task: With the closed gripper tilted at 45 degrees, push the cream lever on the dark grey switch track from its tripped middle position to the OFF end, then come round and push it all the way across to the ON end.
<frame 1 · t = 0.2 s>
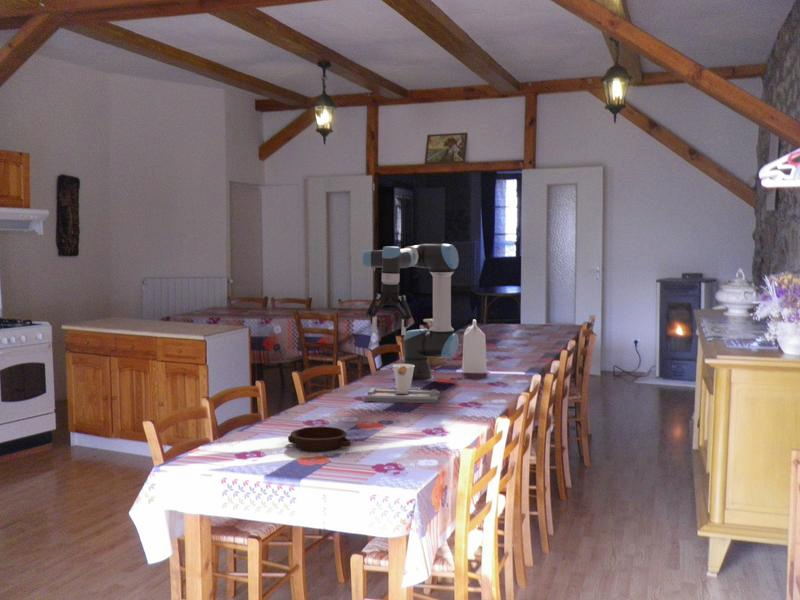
hand: (388, 333, 333), 27 cm above the table, tool pointing down, fingers open, 13 cm apart
candle holder: (432, 363, 424), on the table
switch panel: (402, 398, 332), on the table
milk: (474, 371, 401), on the table
dish: (318, 448, 257), on the table
cup: (403, 390, 351), on the table
lever: (402, 380, 332), point 8 cm above the table, slide at 0.0 cm
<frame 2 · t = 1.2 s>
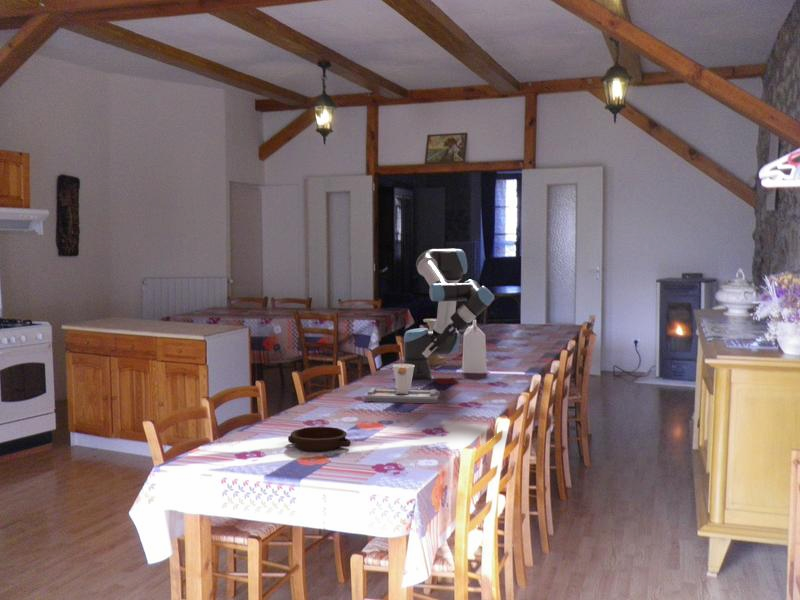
hand: (425, 353, 329), 20 cm above the table, tool tilted 45°, fingers open, 12 cm apart
nothing on the table moved.
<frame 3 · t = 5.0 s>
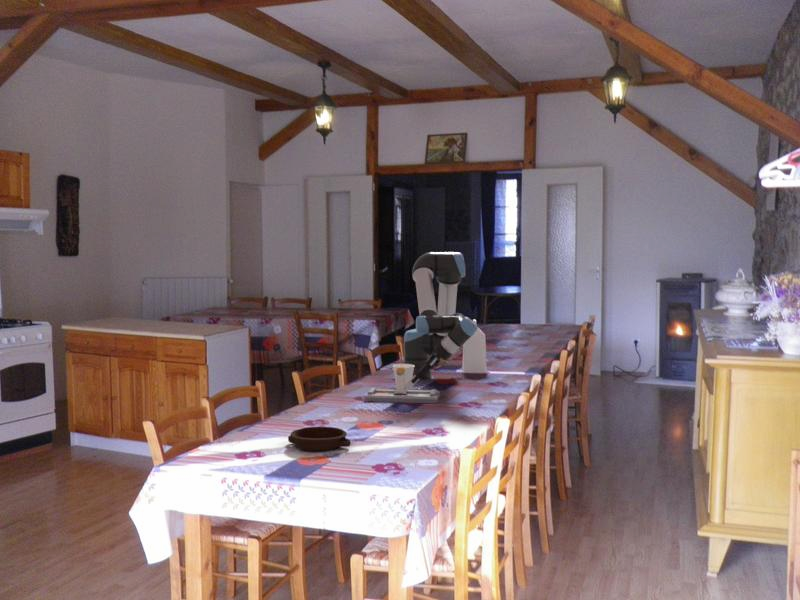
hand: (406, 387, 331), 5 cm above the table, tool tilted 45°, fingers closed
lever: (400, 380, 332), point 8 cm above the table, slide at -0.8 cm, touching gripper
everything else where it was.
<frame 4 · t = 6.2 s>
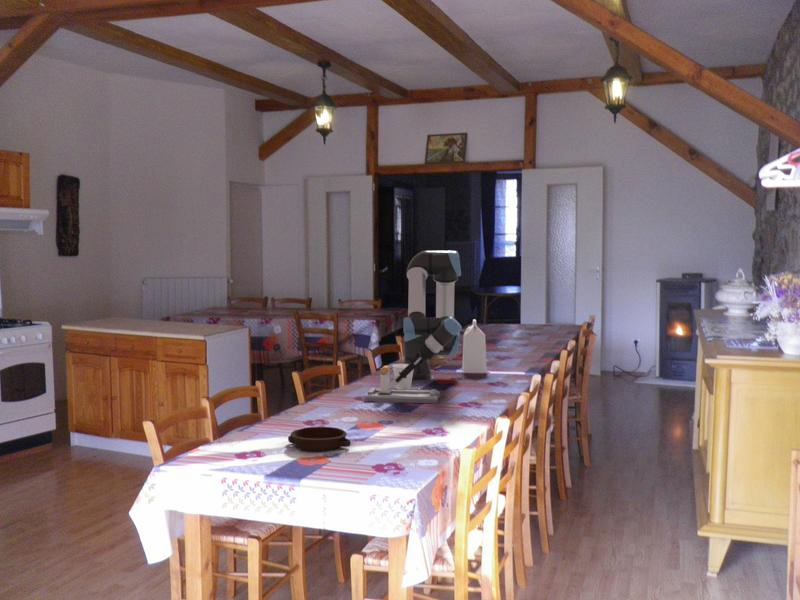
hand: (391, 386, 332), 5 cm above the table, tool tilted 45°, fingers closed
lever: (384, 380, 333), point 8 cm above the table, slide at -7.5 cm, touching gripper
everything else where it was.
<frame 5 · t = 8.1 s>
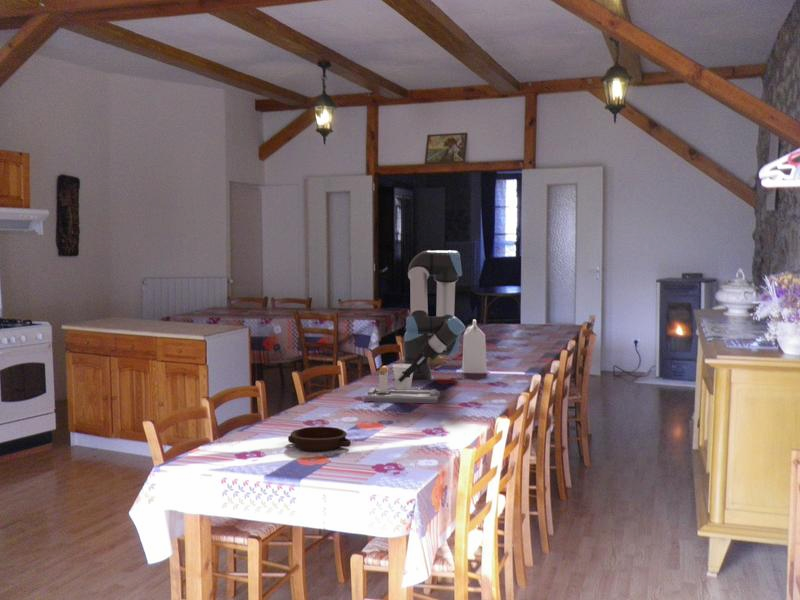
hand: (394, 385, 332), 6 cm above the table, tool tilted 45°, fingers closed
lever: (383, 380, 333), point 8 cm above the table, slide at -8.0 cm
everything else where it was.
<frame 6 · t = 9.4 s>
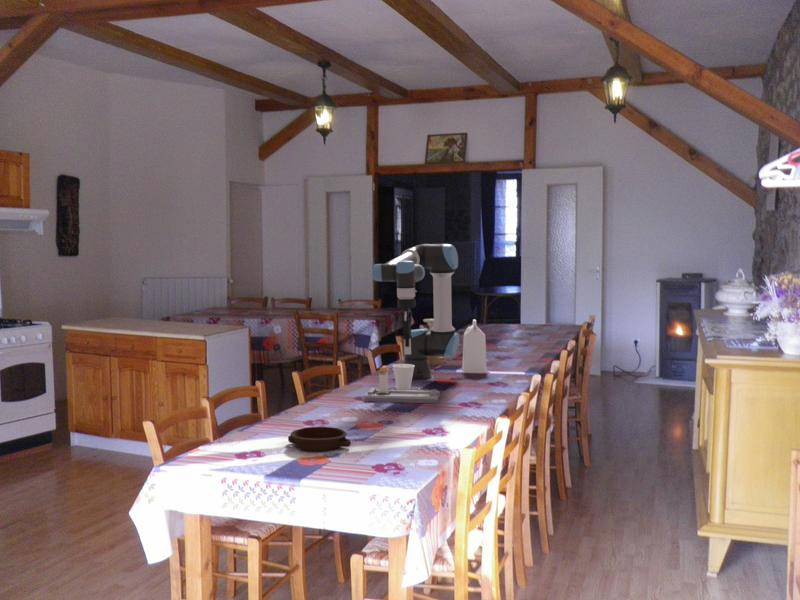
hand: (407, 354, 331), 19 cm above the table, tool pointing down, fingers closed
nothing on the table moved.
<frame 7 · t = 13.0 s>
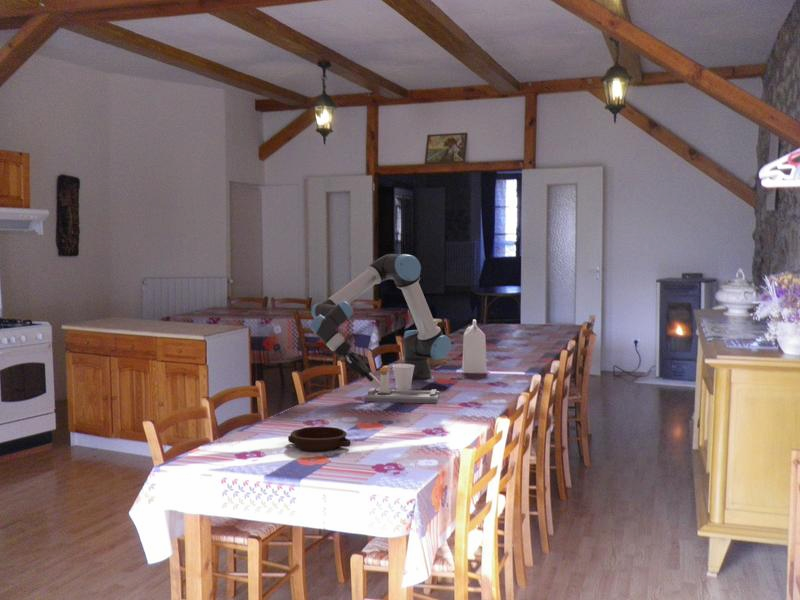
hand: (378, 385, 333), 5 cm above the table, tool tilted 45°, fingers closed
lever: (384, 380, 333), point 8 cm above the table, slide at -7.6 cm, touching gripper
everything else where it was.
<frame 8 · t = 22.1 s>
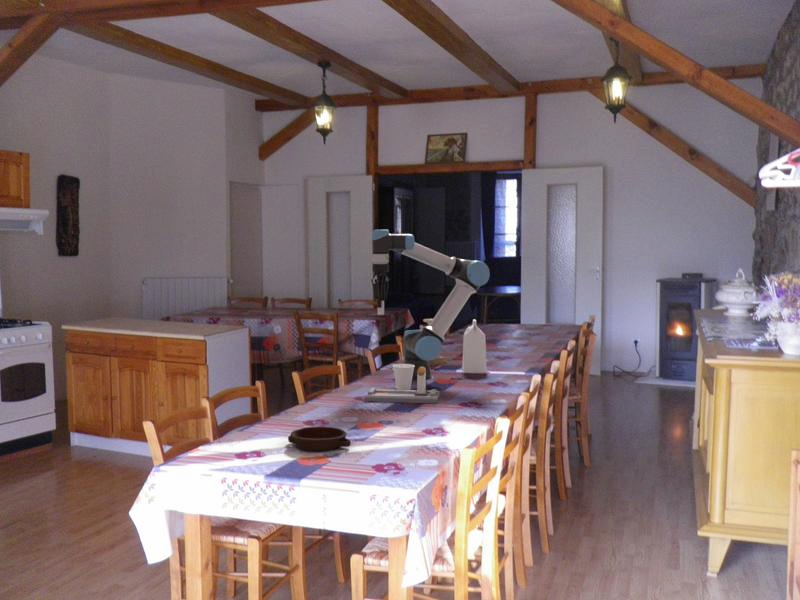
hand: (380, 314, 363), 32 cm above the table, tool pointing down, fingers closed
lever: (421, 381, 331), point 8 cm above the table, slide at 8.0 cm
everything else where it was.
at the end: lever slide at 8.0 cm; cup moved 0.2 cm from its start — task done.
